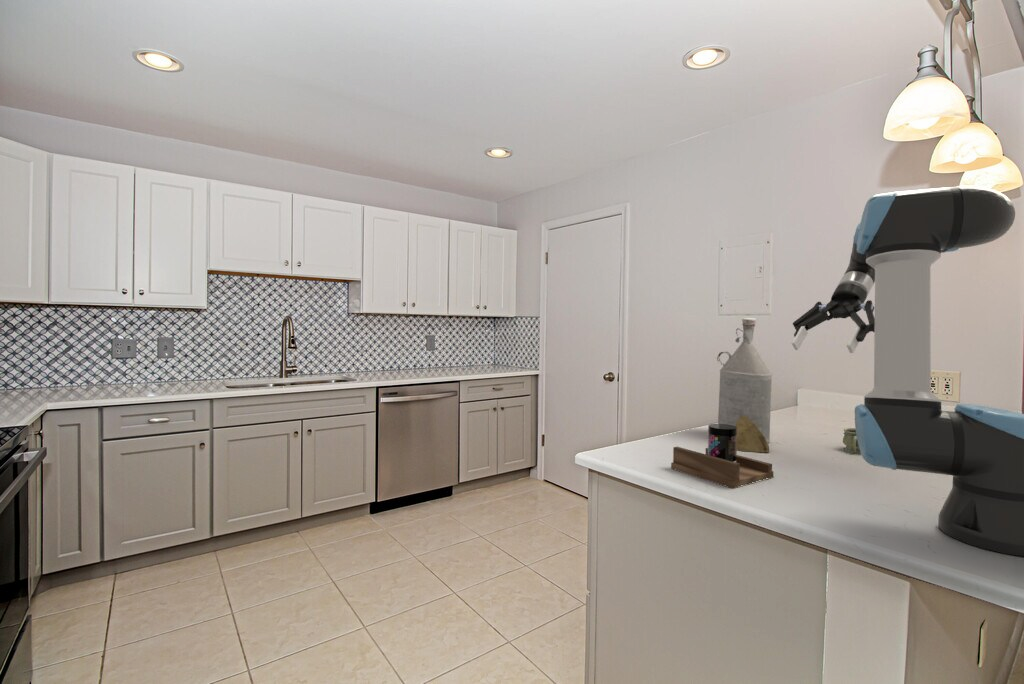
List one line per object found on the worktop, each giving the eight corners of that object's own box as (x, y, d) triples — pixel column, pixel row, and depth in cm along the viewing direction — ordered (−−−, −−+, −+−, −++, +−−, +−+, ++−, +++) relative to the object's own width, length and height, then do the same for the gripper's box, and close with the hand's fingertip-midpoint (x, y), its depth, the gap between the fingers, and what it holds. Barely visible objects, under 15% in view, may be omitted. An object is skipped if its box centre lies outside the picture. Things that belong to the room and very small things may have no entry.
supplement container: (712, 461, 131) (712, 422, 131) (739, 466, 127) (740, 425, 126) (703, 467, 126) (704, 426, 125) (732, 472, 122) (733, 430, 121)
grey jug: (725, 431, 174) (728, 317, 172) (777, 440, 160) (781, 317, 159) (706, 436, 166) (709, 317, 164) (759, 447, 152) (763, 317, 151)
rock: (779, 443, 147) (749, 432, 156) (772, 423, 143) (741, 413, 152) (757, 469, 144) (728, 456, 153) (750, 448, 140) (720, 436, 149)
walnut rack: (710, 459, 138) (711, 440, 138) (773, 477, 123) (773, 455, 123) (671, 468, 130) (671, 447, 130) (733, 488, 114) (733, 465, 114)
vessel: (871, 458, 141) (872, 436, 140) (836, 452, 147) (836, 431, 147) (883, 451, 148) (884, 430, 148) (848, 445, 155) (849, 425, 155)
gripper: (910, 300, 127) (880, 361, 120) (809, 303, 149) (779, 354, 142) (901, 278, 124) (871, 339, 117) (800, 284, 146) (769, 336, 138)
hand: (821, 348), depth 129 cm, fingers open, 13 cm apart
